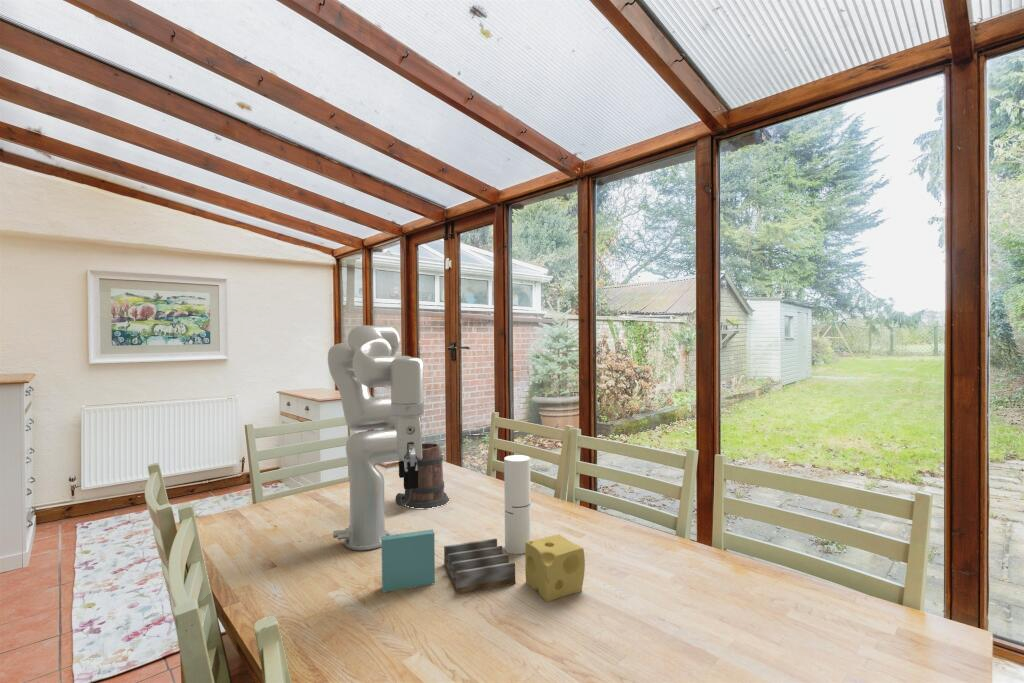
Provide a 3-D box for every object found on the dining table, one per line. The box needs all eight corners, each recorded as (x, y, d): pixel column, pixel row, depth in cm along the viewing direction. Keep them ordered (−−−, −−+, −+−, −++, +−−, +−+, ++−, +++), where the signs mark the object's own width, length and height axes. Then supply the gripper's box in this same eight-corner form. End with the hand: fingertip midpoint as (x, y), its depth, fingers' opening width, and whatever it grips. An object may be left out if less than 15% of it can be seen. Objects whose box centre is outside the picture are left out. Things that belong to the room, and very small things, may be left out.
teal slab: (382, 592, 111) (382, 540, 111) (381, 587, 113) (381, 536, 113) (434, 583, 115) (434, 533, 115) (433, 578, 117) (432, 529, 117)
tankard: (422, 491, 185) (421, 439, 185) (459, 497, 177) (458, 443, 177) (378, 510, 164) (378, 451, 164) (418, 519, 156) (417, 457, 156)
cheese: (546, 603, 106) (546, 557, 106) (523, 581, 116) (522, 539, 116) (585, 591, 111) (585, 548, 111) (559, 571, 120) (559, 531, 120)
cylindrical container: (528, 555, 129) (527, 461, 129) (502, 553, 131) (501, 460, 131) (532, 544, 136) (532, 455, 136) (507, 542, 138) (507, 454, 138)
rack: (457, 594, 110) (457, 573, 110) (444, 564, 125) (443, 545, 125) (515, 583, 115) (515, 563, 115) (496, 555, 129) (495, 538, 129)
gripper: (429, 414, 107) (430, 491, 107) (418, 404, 123) (418, 471, 123) (394, 416, 105) (395, 495, 105) (387, 406, 121) (388, 474, 121)
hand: (408, 482), depth 114 cm, fingers open, 9 cm apart
